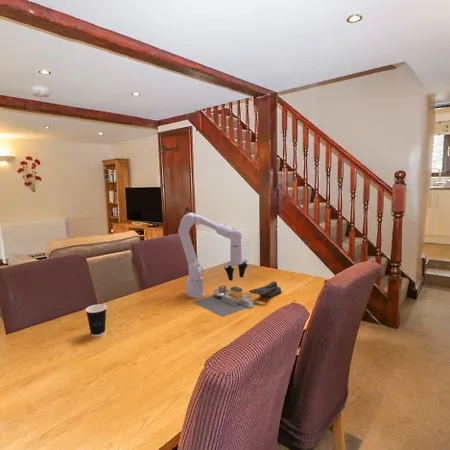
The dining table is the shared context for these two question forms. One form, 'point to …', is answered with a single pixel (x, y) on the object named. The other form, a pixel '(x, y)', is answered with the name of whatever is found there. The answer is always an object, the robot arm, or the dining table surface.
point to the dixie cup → (96, 319)
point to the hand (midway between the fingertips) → (236, 278)
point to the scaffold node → (228, 299)
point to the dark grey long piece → (267, 290)
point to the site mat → (219, 306)
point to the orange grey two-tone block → (236, 292)
